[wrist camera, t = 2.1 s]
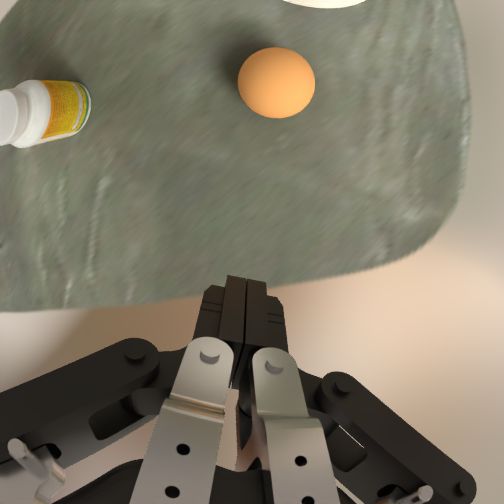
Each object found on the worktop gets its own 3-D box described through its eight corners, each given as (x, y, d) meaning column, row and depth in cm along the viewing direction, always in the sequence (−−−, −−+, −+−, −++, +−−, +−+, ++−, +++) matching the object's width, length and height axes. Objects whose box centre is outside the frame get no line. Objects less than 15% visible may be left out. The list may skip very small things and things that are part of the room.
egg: (233, 109, 21) (226, 108, 16) (248, 49, 19) (246, 31, 14) (298, 124, 22) (311, 128, 17) (314, 65, 19) (330, 52, 15)
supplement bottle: (59, 145, 22) (-10, 169, 13) (44, 99, 20) (-26, 108, 11) (100, 119, 21) (31, 131, 13) (84, 70, 19) (14, 64, 10)
